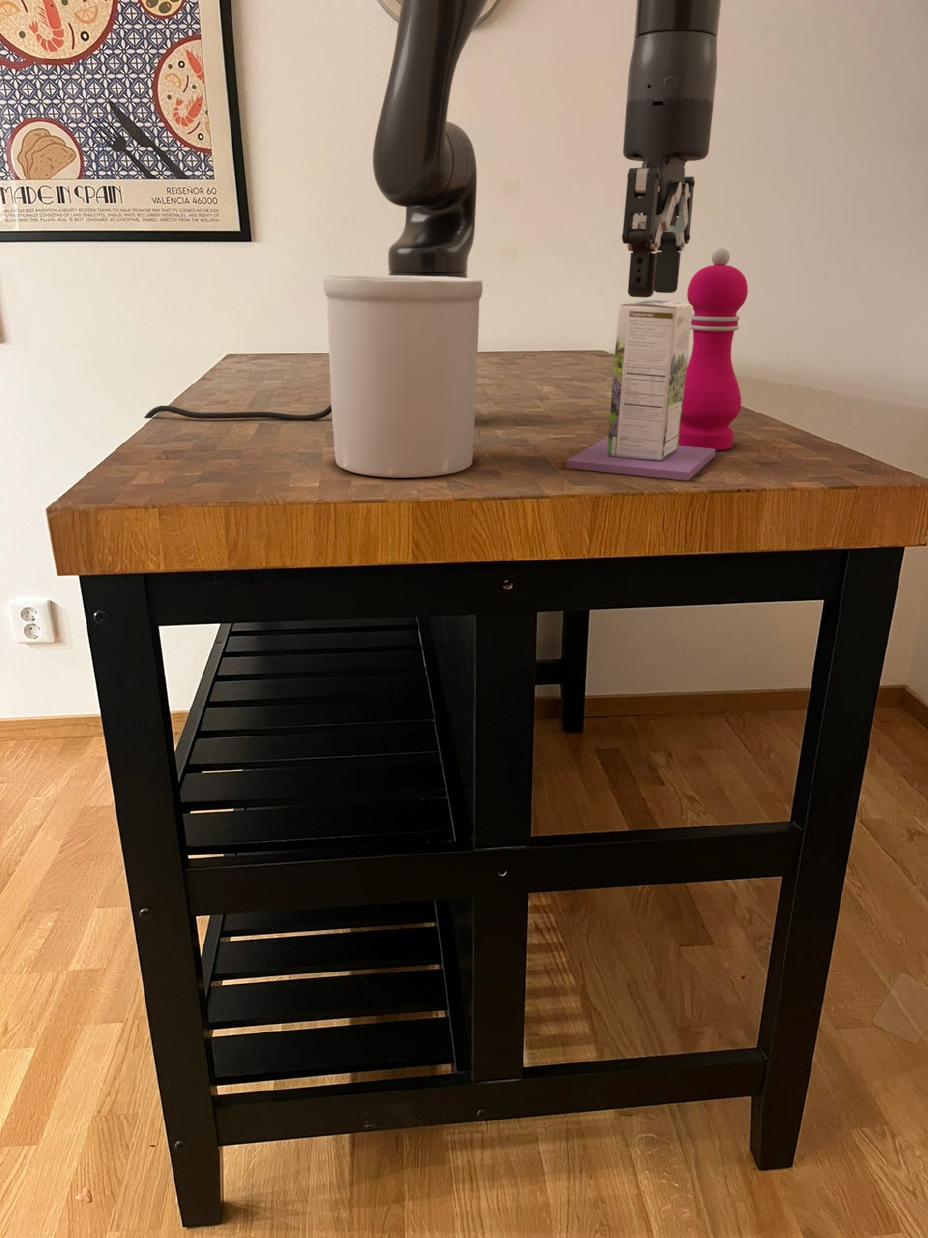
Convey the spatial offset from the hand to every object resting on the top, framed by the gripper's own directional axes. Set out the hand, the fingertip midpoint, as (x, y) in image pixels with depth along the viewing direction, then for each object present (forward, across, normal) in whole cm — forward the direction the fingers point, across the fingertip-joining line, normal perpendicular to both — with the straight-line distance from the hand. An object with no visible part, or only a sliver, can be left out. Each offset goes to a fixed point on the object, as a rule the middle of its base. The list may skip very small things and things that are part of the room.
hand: (653, 294), depth 87 cm
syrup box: (+15, 0, 0) cm, 15 cm away
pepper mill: (+16, -11, +4) cm, 20 cm away
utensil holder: (+16, +11, -21) cm, 29 cm away
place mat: (+16, 0, 0) cm, 16 cm away
